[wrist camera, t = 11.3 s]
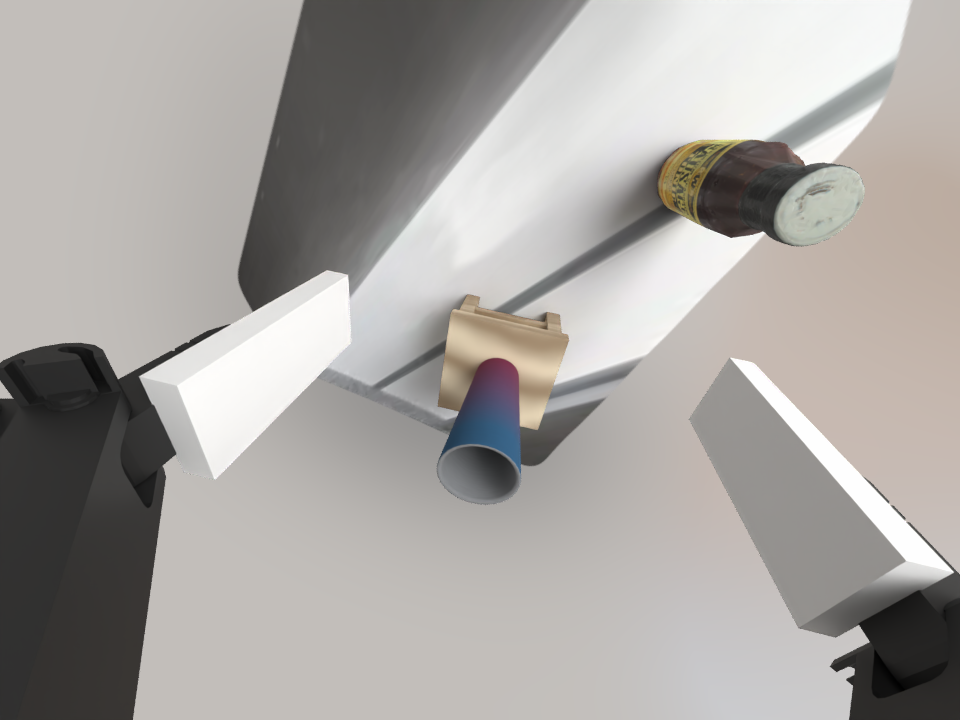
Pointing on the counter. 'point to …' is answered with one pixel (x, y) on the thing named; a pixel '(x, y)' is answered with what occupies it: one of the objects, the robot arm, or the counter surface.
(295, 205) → the counter surface
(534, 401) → the beige streaked flat-top fixture
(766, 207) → the sauce bottle
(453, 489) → the cup
